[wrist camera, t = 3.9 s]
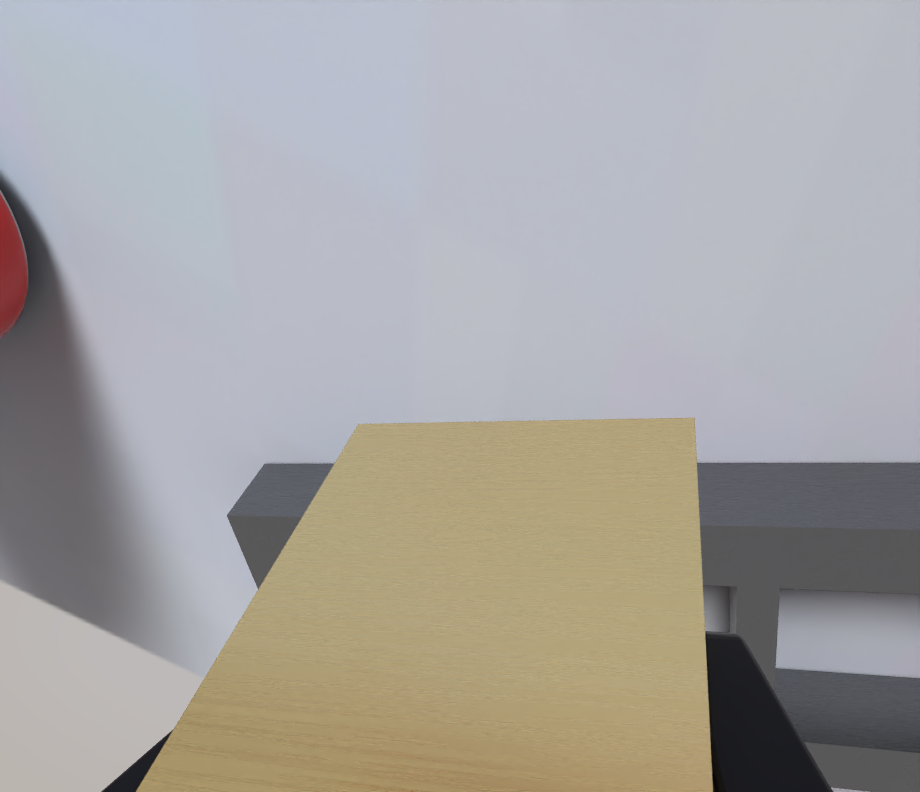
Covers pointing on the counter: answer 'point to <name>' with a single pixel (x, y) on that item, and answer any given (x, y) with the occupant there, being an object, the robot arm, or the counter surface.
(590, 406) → the counter surface
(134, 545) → the counter surface
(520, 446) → the brass block
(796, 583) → the tray
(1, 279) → the soda can
